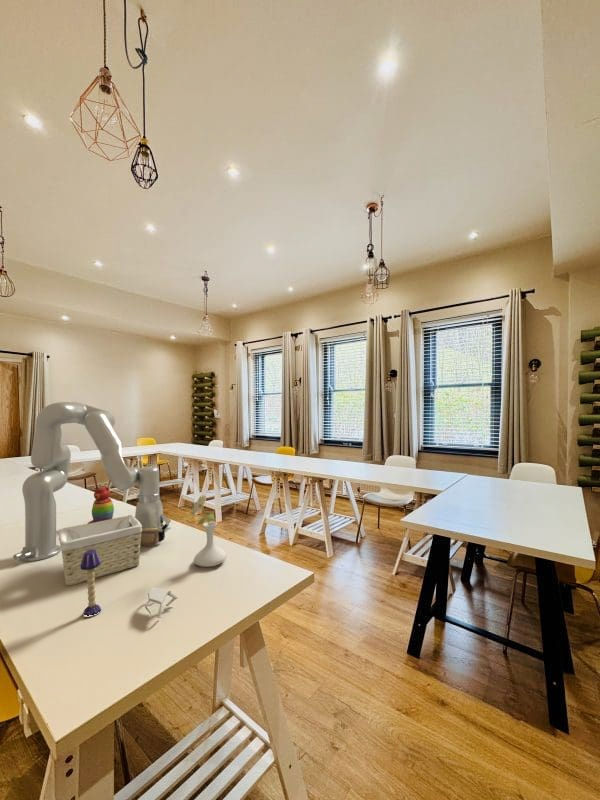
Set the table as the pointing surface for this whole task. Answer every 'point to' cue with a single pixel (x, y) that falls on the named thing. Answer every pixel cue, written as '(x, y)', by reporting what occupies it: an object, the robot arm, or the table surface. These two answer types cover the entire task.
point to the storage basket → (100, 547)
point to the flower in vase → (208, 540)
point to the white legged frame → (159, 597)
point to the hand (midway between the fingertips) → (150, 540)
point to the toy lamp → (91, 580)
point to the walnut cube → (149, 537)
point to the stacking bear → (102, 505)
